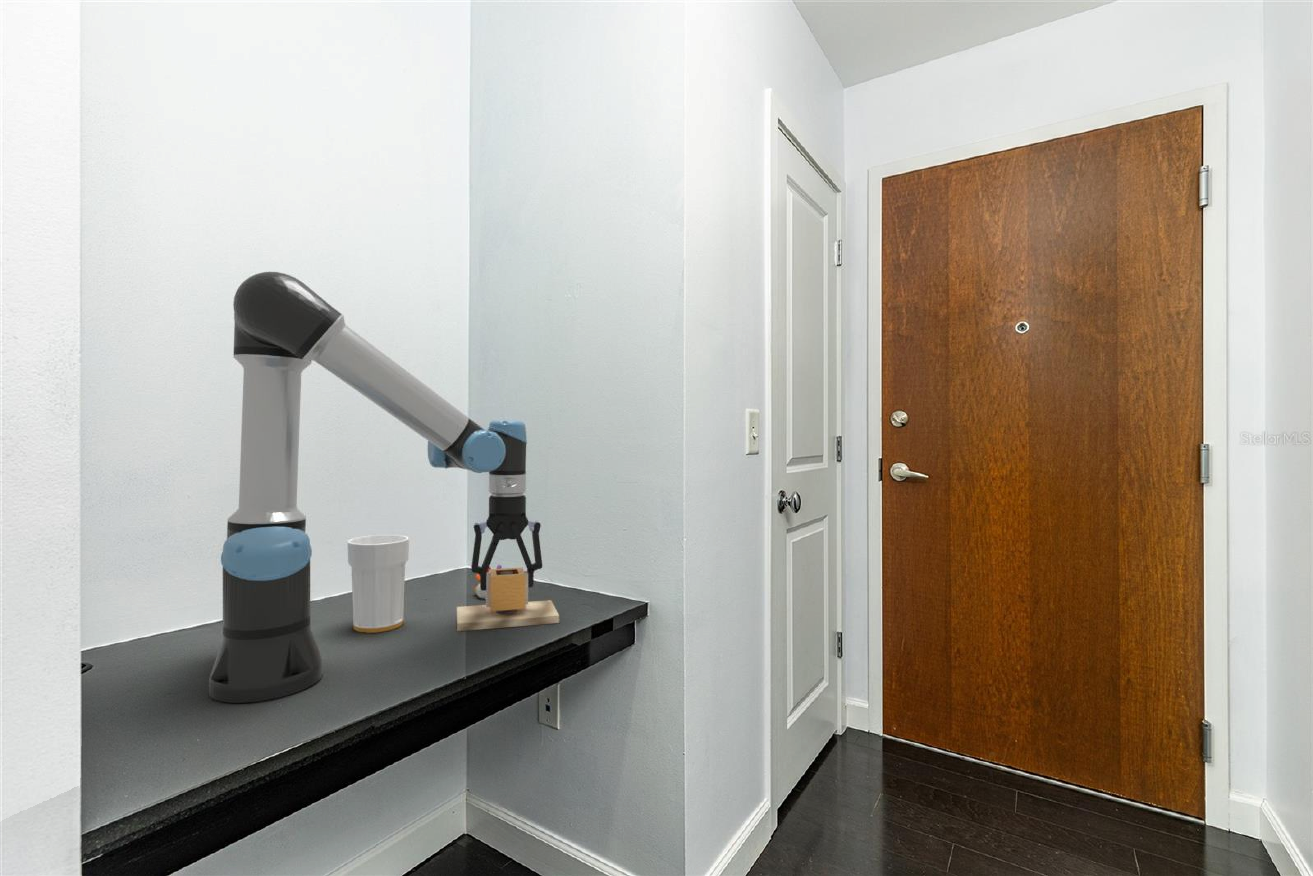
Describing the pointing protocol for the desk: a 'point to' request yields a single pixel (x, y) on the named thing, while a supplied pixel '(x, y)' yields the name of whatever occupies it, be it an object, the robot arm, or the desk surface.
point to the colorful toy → (477, 588)
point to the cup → (378, 581)
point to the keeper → (506, 616)
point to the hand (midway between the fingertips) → (506, 604)
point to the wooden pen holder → (507, 589)
